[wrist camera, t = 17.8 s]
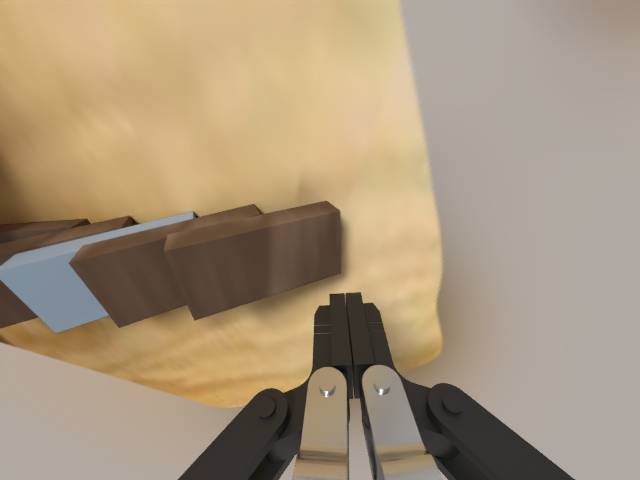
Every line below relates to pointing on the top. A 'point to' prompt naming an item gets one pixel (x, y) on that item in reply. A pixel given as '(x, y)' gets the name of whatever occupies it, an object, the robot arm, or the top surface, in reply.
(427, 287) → the top surface
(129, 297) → the domino
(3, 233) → the domino
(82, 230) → the domino
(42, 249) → the domino
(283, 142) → the top surface
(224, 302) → the domino
